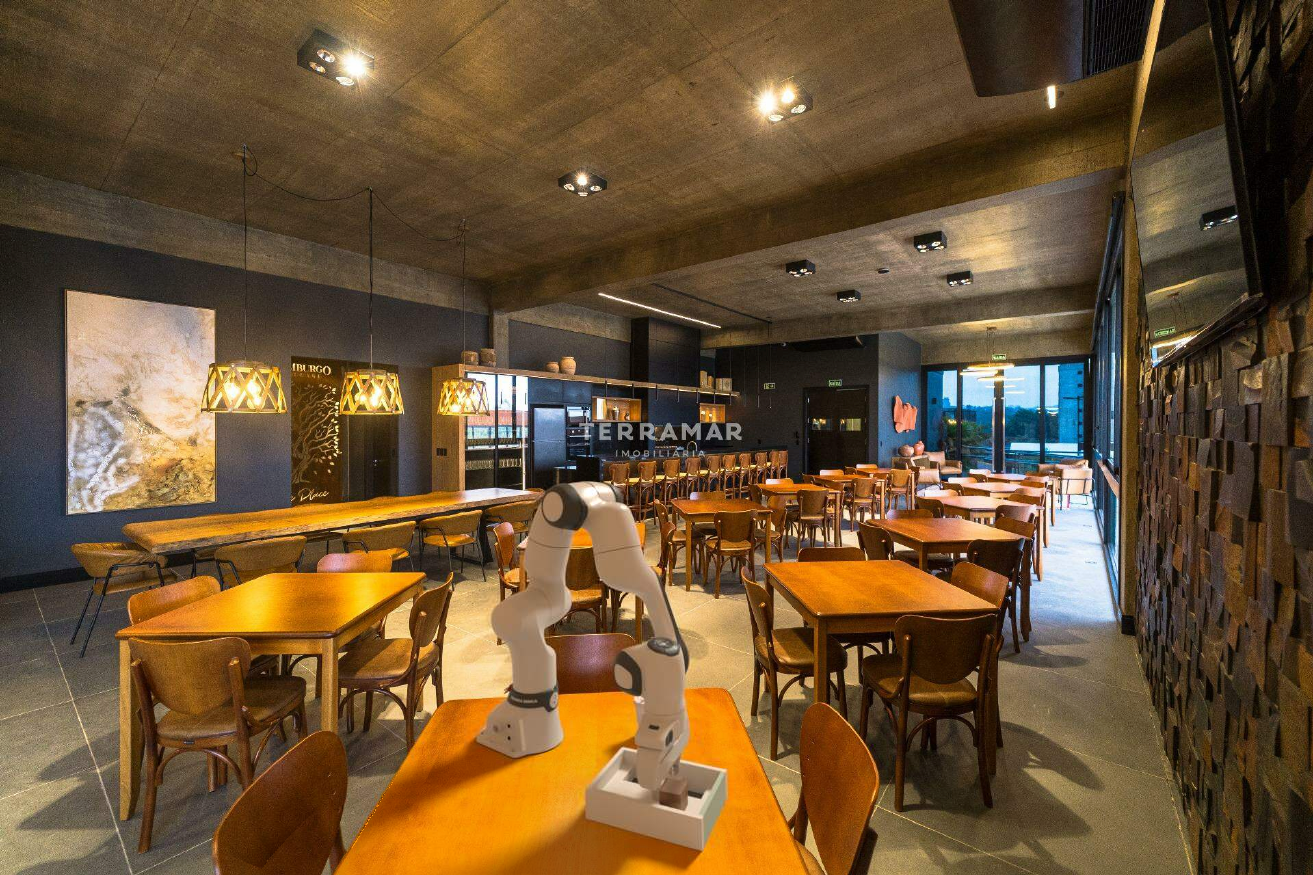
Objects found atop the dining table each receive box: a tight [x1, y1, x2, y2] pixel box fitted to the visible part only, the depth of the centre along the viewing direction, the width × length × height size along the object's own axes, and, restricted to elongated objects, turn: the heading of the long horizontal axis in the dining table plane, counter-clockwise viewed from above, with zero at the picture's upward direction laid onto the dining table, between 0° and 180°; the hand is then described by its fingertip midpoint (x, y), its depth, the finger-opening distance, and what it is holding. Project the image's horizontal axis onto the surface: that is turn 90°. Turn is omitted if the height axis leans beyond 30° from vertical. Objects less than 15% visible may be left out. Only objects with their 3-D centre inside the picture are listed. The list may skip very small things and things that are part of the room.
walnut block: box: [659, 778, 688, 811], centre depth 114 cm, size 4×4×4 cm
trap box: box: [584, 746, 728, 852], centre depth 119 cm, size 25×17×6 cm
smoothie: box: [633, 696, 644, 729], centre depth 148 cm, size 6×6×14 cm
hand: (666, 785), depth 119 cm, fingers open, 8 cm apart
